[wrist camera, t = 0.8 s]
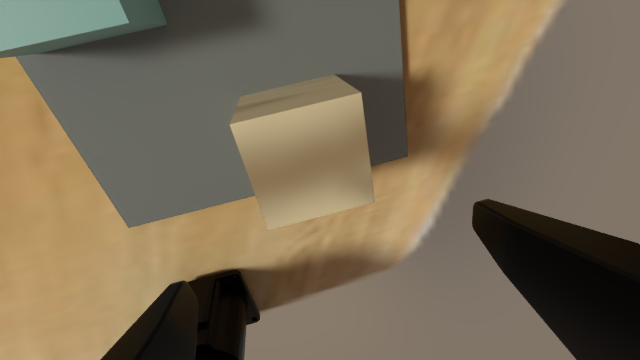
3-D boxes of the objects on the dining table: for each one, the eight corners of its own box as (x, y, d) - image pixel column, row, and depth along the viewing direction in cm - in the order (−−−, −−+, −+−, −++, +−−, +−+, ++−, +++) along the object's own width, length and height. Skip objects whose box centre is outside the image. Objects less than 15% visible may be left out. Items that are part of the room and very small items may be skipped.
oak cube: (348, 159, 21) (375, 202, 16) (267, 179, 21) (268, 230, 16) (333, 74, 18) (361, 92, 13) (240, 96, 18) (229, 124, 13)
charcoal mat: (404, 153, 22) (407, 156, 22) (132, 222, 21) (128, 227, 21) (374, -335, 12) (379, -351, 11) (-170, -243, 11) (-192, -257, 10)
